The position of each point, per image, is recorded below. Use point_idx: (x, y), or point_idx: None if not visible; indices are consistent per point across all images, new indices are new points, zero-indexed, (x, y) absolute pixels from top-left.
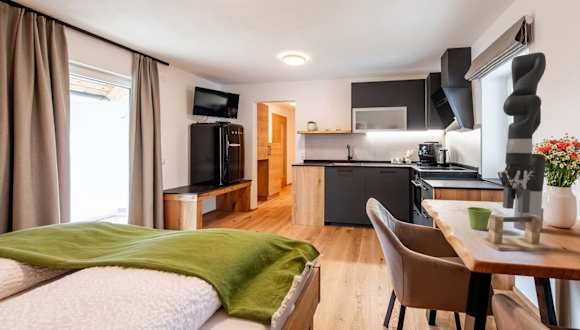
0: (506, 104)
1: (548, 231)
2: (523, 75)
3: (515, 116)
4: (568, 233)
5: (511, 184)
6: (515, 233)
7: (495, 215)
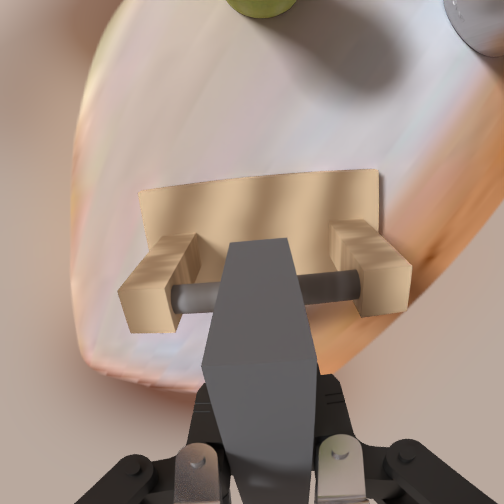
0: None
1: None
2: None
3: None
4: None
5: (218, 490)
6: (396, 66)
7: (142, 307)
